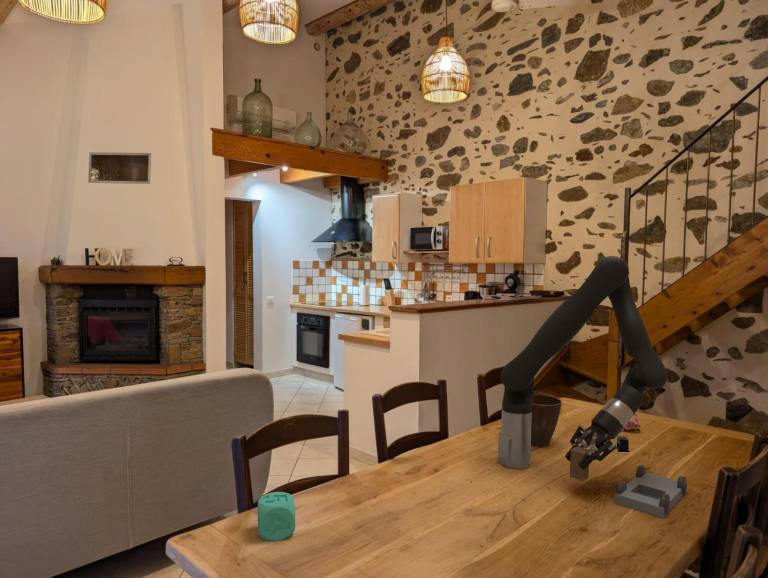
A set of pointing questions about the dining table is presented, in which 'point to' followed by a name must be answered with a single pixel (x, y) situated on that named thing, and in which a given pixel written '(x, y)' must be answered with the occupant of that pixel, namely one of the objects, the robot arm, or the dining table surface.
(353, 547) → the dining table surface
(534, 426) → the plant pot
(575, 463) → the wooden block
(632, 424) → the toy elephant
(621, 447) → the black block
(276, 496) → the decorative dice
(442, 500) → the dining table surface
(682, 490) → the chassis
